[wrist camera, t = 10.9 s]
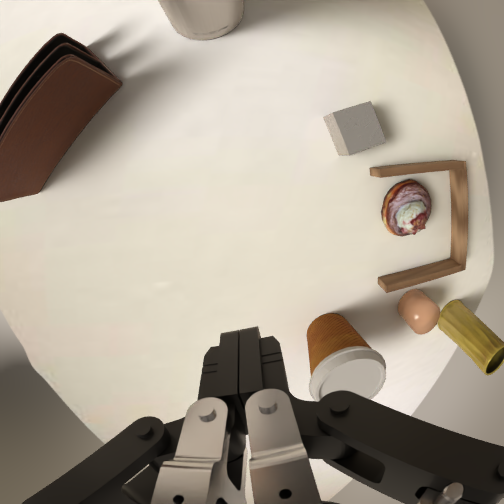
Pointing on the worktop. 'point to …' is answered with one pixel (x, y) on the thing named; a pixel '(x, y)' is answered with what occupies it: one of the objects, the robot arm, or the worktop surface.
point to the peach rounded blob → (418, 311)
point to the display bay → (457, 224)
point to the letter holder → (48, 112)
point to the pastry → (406, 208)
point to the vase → (472, 336)
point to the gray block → (355, 129)
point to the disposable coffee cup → (342, 359)
